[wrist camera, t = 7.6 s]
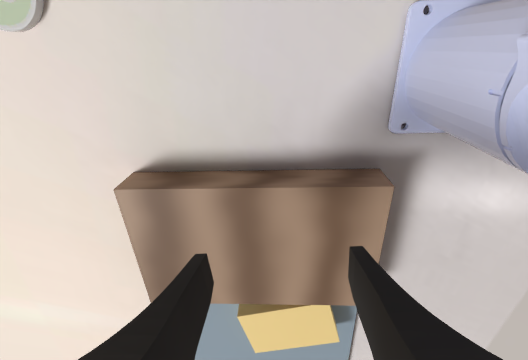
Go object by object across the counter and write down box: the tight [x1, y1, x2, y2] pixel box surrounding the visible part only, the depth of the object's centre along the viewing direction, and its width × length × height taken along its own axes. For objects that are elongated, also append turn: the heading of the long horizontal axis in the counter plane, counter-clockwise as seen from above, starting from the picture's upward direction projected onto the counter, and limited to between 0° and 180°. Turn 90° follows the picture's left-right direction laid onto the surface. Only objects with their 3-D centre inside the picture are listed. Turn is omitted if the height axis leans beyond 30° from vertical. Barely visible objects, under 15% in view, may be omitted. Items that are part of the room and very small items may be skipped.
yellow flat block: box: [237, 304, 340, 353], centre depth 27 cm, size 9×6×2 cm, turn 107°
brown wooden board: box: [114, 169, 394, 306], centre depth 23 cm, size 20×12×3 cm, turn 92°
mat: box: [195, 304, 357, 360], centre depth 30 cm, size 20×15×1 cm
